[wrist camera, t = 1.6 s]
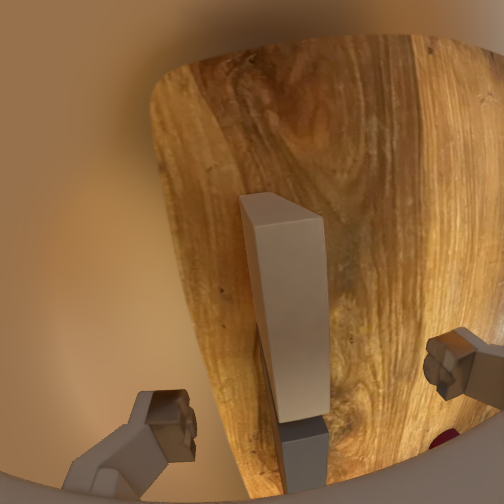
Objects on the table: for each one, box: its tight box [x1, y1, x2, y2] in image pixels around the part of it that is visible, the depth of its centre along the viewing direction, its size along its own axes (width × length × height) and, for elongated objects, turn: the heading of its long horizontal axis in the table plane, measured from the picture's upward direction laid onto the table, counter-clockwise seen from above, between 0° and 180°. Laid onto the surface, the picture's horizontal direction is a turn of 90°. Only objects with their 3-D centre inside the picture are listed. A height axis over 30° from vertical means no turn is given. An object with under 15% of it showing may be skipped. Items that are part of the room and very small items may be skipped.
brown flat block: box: [238, 192, 330, 423], centre depth 18 cm, size 9×2×13 cm, turn 8°
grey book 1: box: [256, 324, 329, 494], centre depth 20 cm, size 9×2×13 cm, turn 8°
